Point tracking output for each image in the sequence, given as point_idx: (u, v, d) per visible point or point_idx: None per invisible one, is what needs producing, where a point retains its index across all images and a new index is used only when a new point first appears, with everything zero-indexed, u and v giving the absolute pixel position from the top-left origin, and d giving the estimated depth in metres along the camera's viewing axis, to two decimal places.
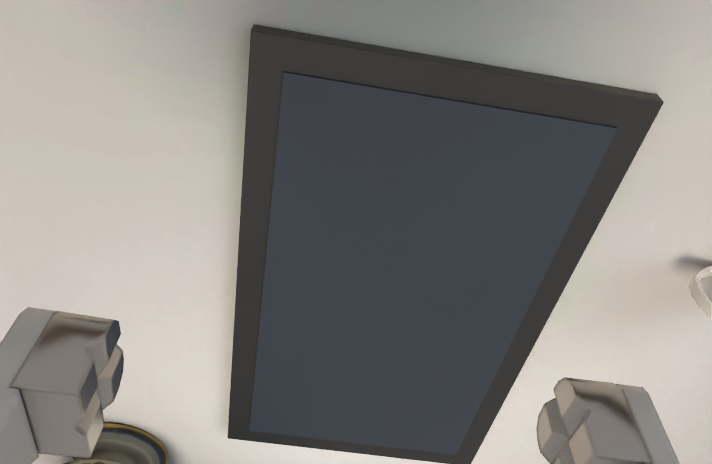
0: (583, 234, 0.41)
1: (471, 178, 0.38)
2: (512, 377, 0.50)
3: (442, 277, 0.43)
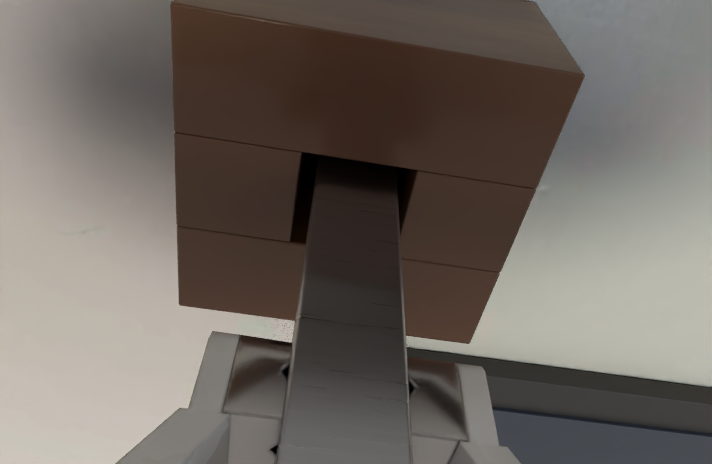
0: None
1: None
2: None
3: None
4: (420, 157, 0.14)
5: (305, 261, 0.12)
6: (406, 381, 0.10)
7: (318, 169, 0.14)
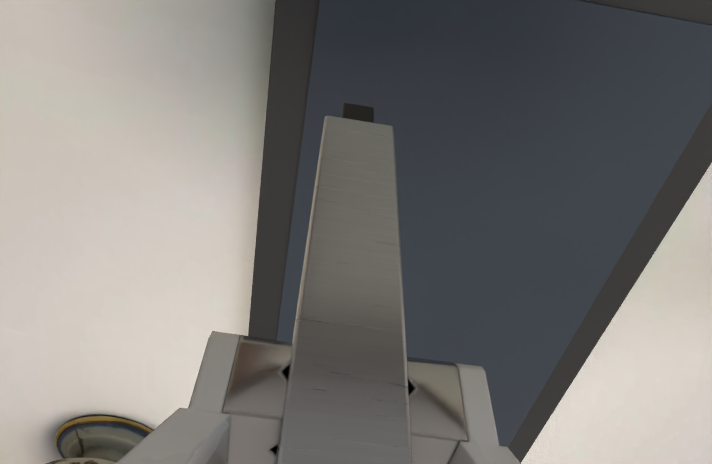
0: (687, 179, 0.33)
1: (556, 104, 0.30)
2: (580, 361, 0.42)
3: (508, 236, 0.35)
4: None
5: (305, 263, 0.12)
6: (406, 383, 0.10)
7: (318, 170, 0.14)
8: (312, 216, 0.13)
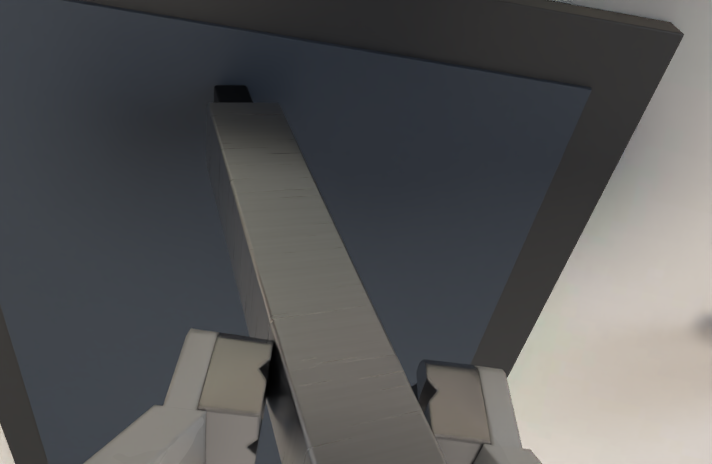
0: (538, 283, 0.23)
1: (324, 187, 0.20)
2: None
3: None
4: None
5: (254, 261, 0.11)
6: (394, 352, 0.10)
7: (225, 163, 0.14)
8: (240, 212, 0.13)
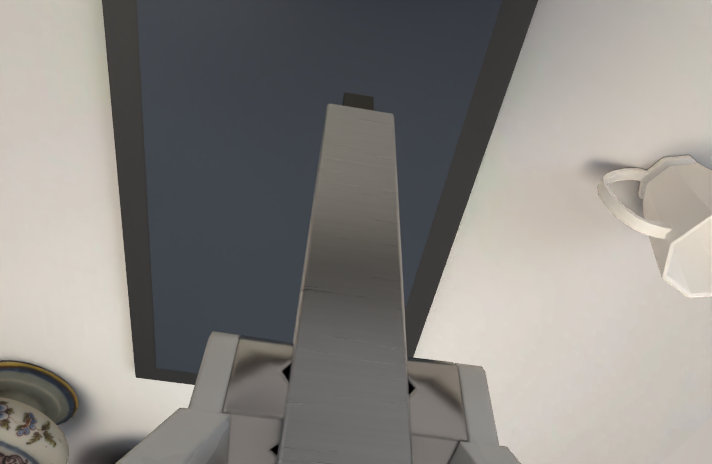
0: (481, 129, 0.38)
1: (353, 59, 0.35)
2: (427, 303, 0.47)
3: None
4: None
5: (309, 239, 0.12)
6: (404, 347, 0.10)
7: (321, 154, 0.15)
8: (315, 196, 0.14)
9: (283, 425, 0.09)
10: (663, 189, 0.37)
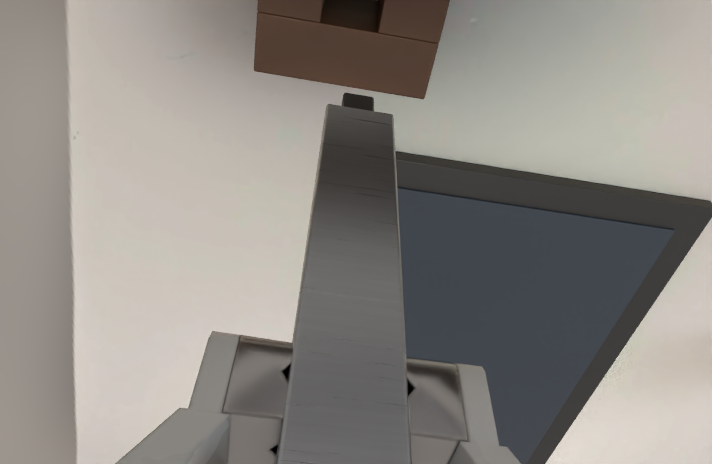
0: (637, 313, 0.45)
1: (542, 269, 0.43)
2: (563, 430, 0.55)
3: (508, 348, 0.48)
4: None
5: (308, 239, 0.12)
6: (403, 349, 0.10)
7: (320, 155, 0.15)
8: (315, 197, 0.14)
9: (282, 427, 0.09)
10: None
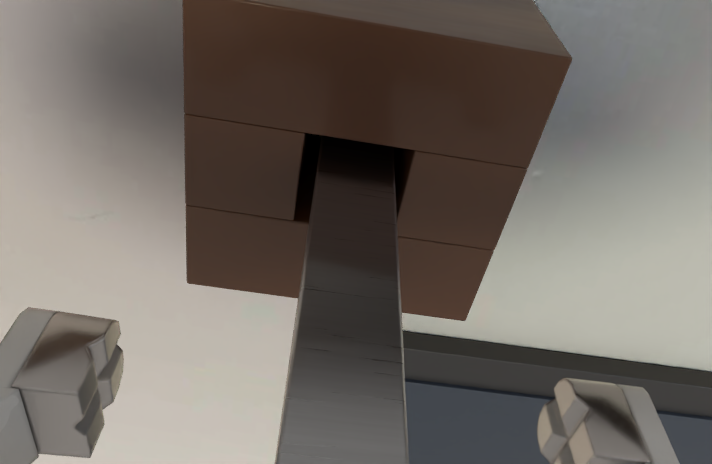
0: None
1: None
2: None
3: None
4: (417, 138, 0.15)
5: (308, 239, 0.13)
6: (401, 345, 0.11)
7: (320, 156, 0.15)
8: (314, 197, 0.14)
9: (282, 421, 0.09)
10: None
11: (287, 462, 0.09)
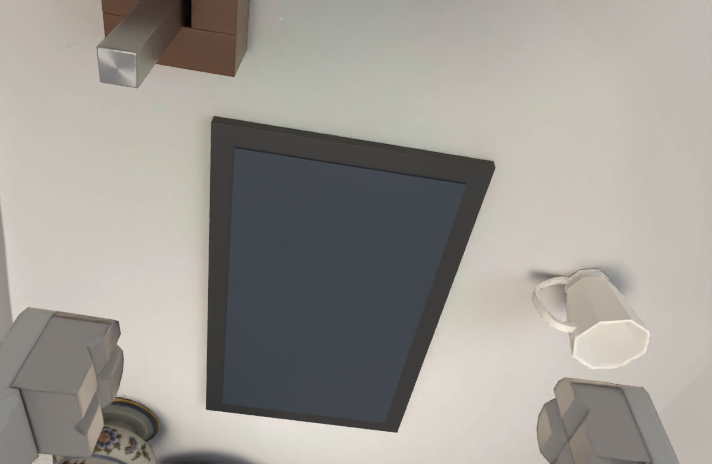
0: (455, 255, 0.56)
1: (370, 217, 0.54)
2: (420, 360, 0.66)
3: (358, 285, 0.59)
4: None
5: (137, 5, 0.35)
6: (157, 25, 0.33)
7: None
8: None
9: (111, 31, 0.32)
10: (576, 295, 0.56)
11: (109, 36, 0.31)
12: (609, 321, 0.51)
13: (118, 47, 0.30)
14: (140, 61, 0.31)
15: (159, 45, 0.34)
